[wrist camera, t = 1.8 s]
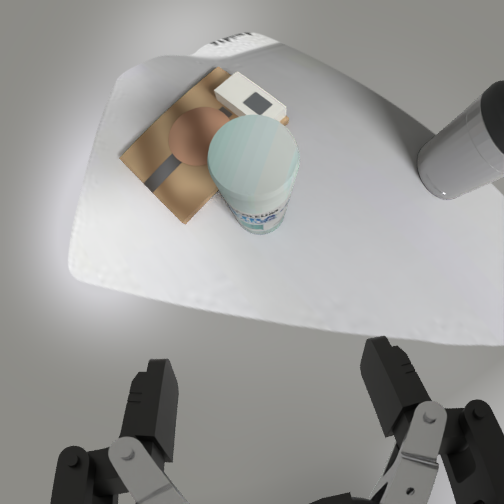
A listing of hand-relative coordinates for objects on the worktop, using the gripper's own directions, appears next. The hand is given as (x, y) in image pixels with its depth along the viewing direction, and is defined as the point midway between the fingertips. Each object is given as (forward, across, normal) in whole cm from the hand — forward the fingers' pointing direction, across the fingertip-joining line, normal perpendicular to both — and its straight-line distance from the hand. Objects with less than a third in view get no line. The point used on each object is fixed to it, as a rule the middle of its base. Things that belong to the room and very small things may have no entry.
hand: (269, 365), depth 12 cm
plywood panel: (+36, +5, -4) cm, 37 cm away
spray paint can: (+30, -2, +5) cm, 30 cm away
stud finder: (+36, -2, -8) cm, 37 cm away
